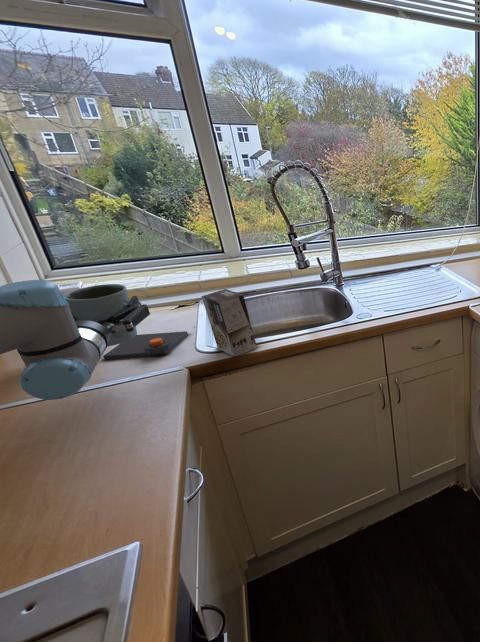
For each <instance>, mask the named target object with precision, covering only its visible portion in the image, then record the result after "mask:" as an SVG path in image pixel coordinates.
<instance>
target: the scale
mask: <svg viewBox="0 0 480 642" xmlns="http://www.w3.org/2000/svg"><path fill="white" fill-rule="evenodd" d="M188 336H189V333H188V331H187V330H184V331H171V332H158V333H156V332H155V333H144V334H143V333H142V334H137V335H136V336H135V337H134V338H133V339H131V340H129V341H126V342H124V343H121V344H117V345H115V347H113V348H112V349H111V350H109V351H108V352H106V353H105V354H103V355H102V357H103V359H104V361H110V360H121V359H122V360H123V359H134V358H136V359H137V358H147V357H159V356H167V354H169V353H170V352H171V351H172V350H173V349H175V348H176V347H177V346H178V345H179V344H180V343H181V342H182V341H184V339H186V338H187V337H188ZM155 338H162V340H163V343H164V344H162V345H160V346H156V347H151V344H150V340H152V339H155Z"/></svg>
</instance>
